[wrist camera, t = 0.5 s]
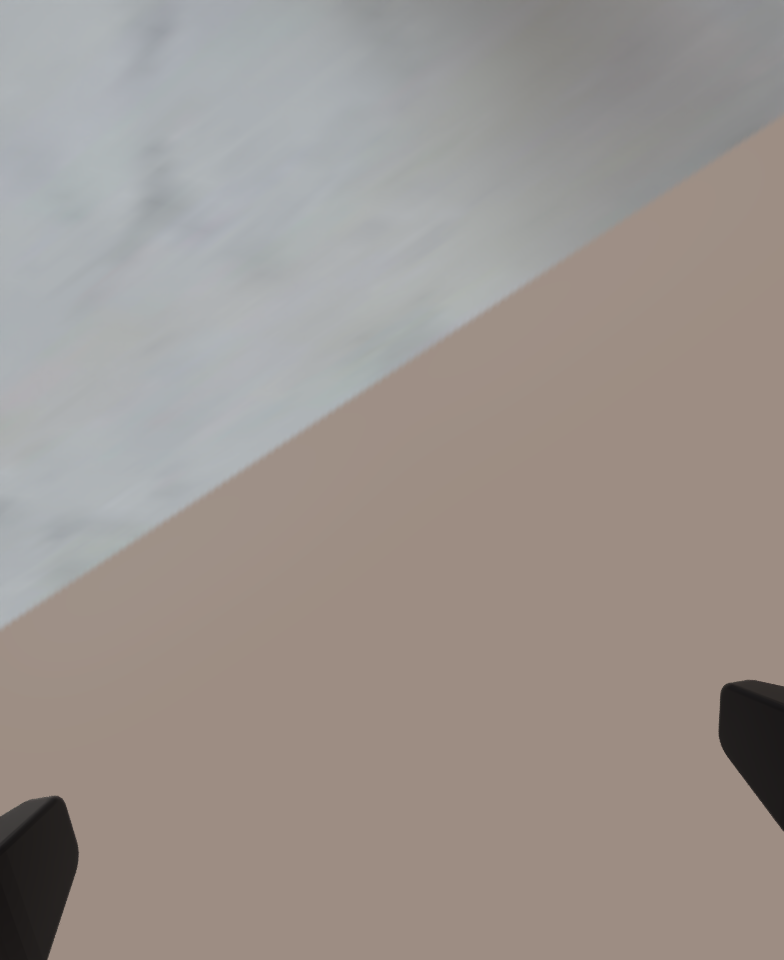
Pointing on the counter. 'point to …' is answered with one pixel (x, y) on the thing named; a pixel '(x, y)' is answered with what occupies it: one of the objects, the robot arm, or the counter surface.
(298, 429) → the counter surface
